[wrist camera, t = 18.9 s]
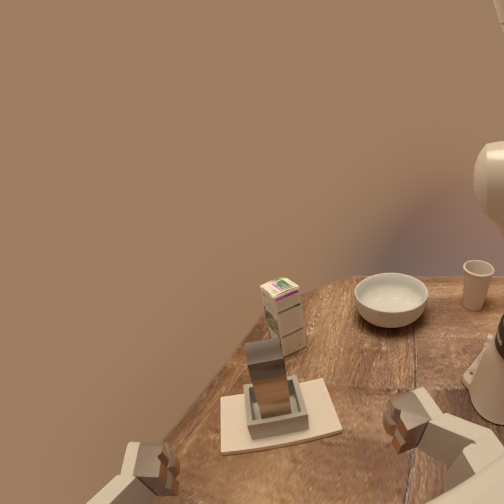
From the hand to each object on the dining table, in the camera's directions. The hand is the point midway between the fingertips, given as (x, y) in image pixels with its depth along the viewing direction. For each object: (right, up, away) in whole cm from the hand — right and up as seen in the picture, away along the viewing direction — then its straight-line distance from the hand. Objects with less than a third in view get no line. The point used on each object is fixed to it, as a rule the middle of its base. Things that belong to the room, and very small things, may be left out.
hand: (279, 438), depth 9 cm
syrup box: (+7, -13, +50) cm, 52 cm away
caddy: (+3, -20, +33) cm, 38 cm away
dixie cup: (+52, -6, +46) cm, 70 cm away
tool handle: (+3, -19, +32) cm, 38 cm away
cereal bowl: (+30, -8, +51) cm, 60 cm away
